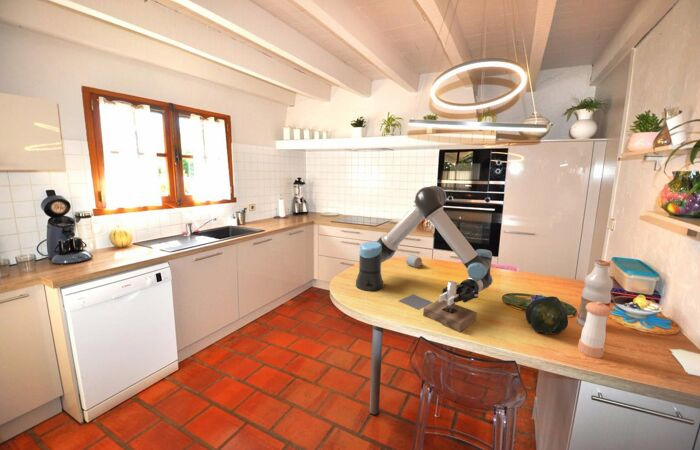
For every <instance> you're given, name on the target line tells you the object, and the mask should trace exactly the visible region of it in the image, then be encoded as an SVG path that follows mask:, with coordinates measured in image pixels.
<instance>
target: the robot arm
mask: <svg viewBox="0 0 700 450" xmlns="http://www.w3.org/2000/svg"><path fill="white" fill-rule="evenodd" d="M446 202H447V193H446V191H445V190H444V189H443V188H442V187H441V186H437V185H430V186H424V187H422V188H420V189H419V190H418V191H417V193H416V194H415V198H414V201H413V206H412V207H411V208H410V209H409V210H408V211H407V212H406V213H405V214H404V216H403V217H402V218H401V219H399V221H398V222H397V223H396V224H395V225H394V226H393V228H391V229H390V231H389V232H388V233H387V234H382V235H381V236H380V237H379V238H378V239H377V241H366V242H364V243H362V244H361V245H360V247H359V251H358V252H359V259H358V260H359V262H358V263H359V265H358V266H359V267H358V268H359V270H358V274H357V277H356V280H355V286H356V288H357V289H359V290H362V291H369V292H370V291H371V292H372V291H373V292H375V291H380V290H382V289H383V288H384V280H383V276H382V271H381V270H382V263H384V262H385V261H387V260H389V259H392V257H393V256H394V255H395V253H396V252H397V250H398V249H399V245H400V244H401V243H402V242H403V241H404V240H405V239H406V238H407V236H408V235H410V234H411V233H412V231H414V229H416V228H417V227H418V225H420V223H421V222H422V221H423V220H424V219H426V220H429V221H430V222H431V224H432V225H433V227H435V229H436V230H437V232H438V233H439V234H440V235H441V237H442V238H443V240H445V242H446V243H447V245H448V246H449V247H450V248H451V250H452V251H453V252H454V254H455V255H456V256H457V258H458V259H459V260H460V261H461V263H462V265H464V267H465V268H466V271H467V272H466V273H467V275H468V276H469V277H468V278H466V279H464V280H462V281H461V282H460V284H457V287H456V295H455V296H453V297H451V298H449V299H448V305H449V306H450V305H451V304H453V303H455V304H457V303H459V302H462V303H467V302H470V301H471V300H474V299H477V298H479V293H480V292H482V291H484V290H486V289H487V288H489V287H490V286H491V285H492V284H493V281H494V279H493V277H492V275H491V269H492V268H491V267H492V260H493V253H492V251H491V250H488V249H485V248H484V249H483V248H479V249H476V250H475V249H474V248H473V246H472V245H471V244H470V243H469V241H468V240H467V239H466V237H465V236H464V235H463V234H462V232H461V231H460V230H459V229H458V227H457V226H456V224H454V222H453V221H452V220H451V218H450V217H449V216H448V214H447V213H446V211H444V205H445V204H446ZM446 298H447V286H446V287H443V288H442V293H441V294H440V295H438V300H439V302H441V301H443V300H445V301H446Z"/></svg>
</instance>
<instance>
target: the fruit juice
mask: <svg viewBox="0 0 700 450" xmlns="http://www.w3.org/2000/svg"><path fill="white" fill-rule="evenodd" d="M593 264H594V267H593V269H592V270H591V272H590V273H589V274H587V275H586V276H585V278H584V288H583V289H582V292H581V296H580V302H579V308H578V314H577V324H578V325H581V327H582V328H583V327H584V325H585V322H586V318H587V312H588V311H587V310H586V305H587V304H588V303H590V302H601V303H602V304H604V305H606V306H608V307H609V308H610V306H611V302H612V294H611V291H612V290H613V287H614V281H613V279H612V278H611V277H610V274H609V268H610V266H611V262H610V261H606V260H601V259H595V260H594V263H593ZM608 318H609V316H607V319H608ZM607 322H608V320H607V321H606V324H607Z"/></svg>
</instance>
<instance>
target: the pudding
mask: <svg viewBox="0 0 700 450" xmlns="http://www.w3.org/2000/svg"><path fill="white" fill-rule="evenodd" d="M545 297H546V296H545V295H541V294H534V295H533V296H532V299H531V302H533V301H535V300H538V299H541V298H545Z"/></svg>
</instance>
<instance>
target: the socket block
mask: <svg viewBox="0 0 700 450" xmlns="http://www.w3.org/2000/svg"><path fill="white" fill-rule="evenodd" d="M445 310H446V299H445V300H443V301H441V302H439V299H438V300H436V301H434V302H433V303H431V304H429V305H427V306H425V307H423V314H422V316H423V317H425V318H427V319H430V320H432V321H435V322H437V323H439V324H441V325H442V326H444V327H447V328H449V329H450V330H454V331H456V332H458V333H460V332H462V331H463V330H465V329H466V328H467V327H470V326H471V325H472V324H473V323H476V320H477V313H478V312H477V311H475V310H472V309H470V308H467V307H464V306H461V305H458V304H457V303H455V309H454V313H453V314H451V313H448V312H446V311H445Z"/></svg>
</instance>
